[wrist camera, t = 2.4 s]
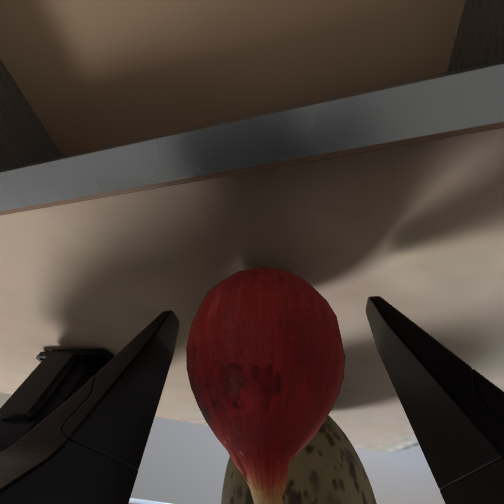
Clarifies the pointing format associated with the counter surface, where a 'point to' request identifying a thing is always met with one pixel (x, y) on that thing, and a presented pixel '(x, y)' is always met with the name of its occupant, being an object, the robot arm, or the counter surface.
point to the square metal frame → (261, 126)
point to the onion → (265, 371)
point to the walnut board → (211, 63)
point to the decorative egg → (313, 473)
